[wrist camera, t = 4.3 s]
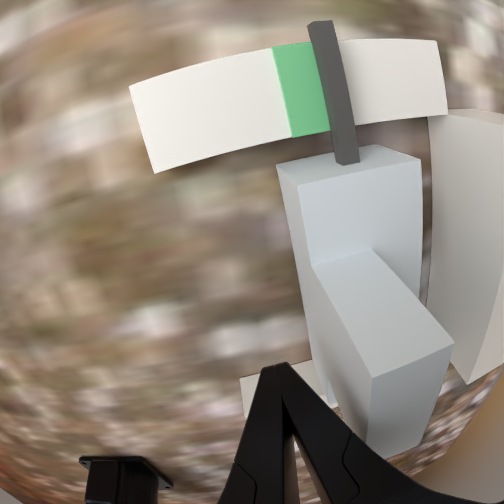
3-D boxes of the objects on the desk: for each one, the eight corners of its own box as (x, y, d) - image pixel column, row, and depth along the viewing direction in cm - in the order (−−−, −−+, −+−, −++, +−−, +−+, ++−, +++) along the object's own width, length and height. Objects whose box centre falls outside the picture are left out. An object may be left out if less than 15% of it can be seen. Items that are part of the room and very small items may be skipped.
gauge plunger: (382, 337, 15) (449, 449, 9) (312, 360, 15) (358, 488, 9) (354, 30, 9) (513, -16, 2) (246, 43, 9) (311, -61, 2)
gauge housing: (458, 321, 17) (500, 372, 12) (246, 393, 17) (257, 469, 12) (462, 47, 10) (544, 47, 5) (139, 88, 10) (87, 78, 5)
